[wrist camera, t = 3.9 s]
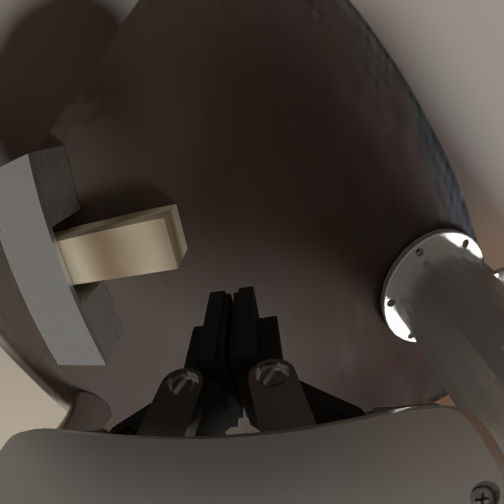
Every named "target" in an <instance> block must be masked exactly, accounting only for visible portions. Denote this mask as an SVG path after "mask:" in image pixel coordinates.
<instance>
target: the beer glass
mask: <svg viewBox="0 0 504 504" xmlns="http://www.w3.org/2000/svg"><path fill="white" fill-rule="evenodd" d="M111 416H112V412H111V409H110V407H109V406H108V405H107V403H106V402H104V401H103V400H102V399H101V398H99V397H98V396H96V395H94V394H91V393H89V392H84V391H78V392H75V393H74V394H73V396H72V399H71V403H70V407H69V410H68V412H67V415H66V416H65V418H64V419H63V421H62V422H61V423H60V425H59V426H58V427H57V428H56V429H64V430H75V431H93V430H101V429H104V427H105V426H106V424H107V423H108V421H109V420H110V418H111Z"/></svg>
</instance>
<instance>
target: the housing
mask: <svg viewBox="0 0 504 504" xmlns="http://www.w3.org/2000/svg"><path fill="white" fill-rule="evenodd" d="M80 209H81V208H80V204H79V200H78V197H77V193H76V189H75V185H74V182H73V178H72V173H71V169H70V165H69V161H68V156H67V152H66V147H65V145H64V146H59V147H54V148H50V149H45V150H41V151H37V152H32V153H28V154H26V155H24V156H22V157H20V158H18V159H15V160H13V161H11V162H9V163H7V164H5V165H3V166H1V167H0V240H1V243H2V246H3V249H4V251H5V254H6V257H7V260H8V262H9V265H10V267H11V270H12V272H13V275H14V277H15V280H16V282H17V284H18V287H19V289H20V291H21V294H22V296H23V298H24V300H25V302H26V305H27V307H28V309H29V311H30V313H31V315H32V317H33V319H34V321H35V323H36V325H37V327H38V329H39V331H40V333H41V335H42V337H43V338H44V340H45V342H46V344H47V346H48V348H49V349H50V351H51V353H52V355H53V356H54V358H55V360H56V362H57V363H58V365H106V364H107V362H108V360H109V358H110V356H111V354H112V352H113V350H114V348H115V346H116V345H117V343H118V341H119V339H120V337H121V335H122V333H123V331H124V328H123V325H122V323H121V321H120V318H119V316H118V313H117V311H116V309H115V306H114V304H113V301H112V299H111V296H110V294H109V291H108V288H107V286H106V283H105V281H104V280H102V281H96V282H89V283H82V284H76V285H73V284H72V281H71V279H70V276H69V274H68V271H67V269H66V266H65V263H64V261H63V258H62V255H61V252H60V249H59V247H58V244H57V241H56V238H55V235H54V232H53V229H52V227H53V226H54V225H56V224H57V223H59V222H60V221H62V220H64V219H65V218H67V217H68V216H70V215H72V214H73V213H75V212H77V211H78V210H80Z"/></svg>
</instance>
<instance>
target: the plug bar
mask: <svg viewBox="0 0 504 504" xmlns="http://www.w3.org/2000/svg"><path fill="white" fill-rule="evenodd" d="M54 235H55V238H56V241H57V244H58V247H59V249H60V252H61V255H62V258H63V261H64V263H65V266H66V269H67V271H68V274H69V276H70V279H71V281H72V284H73V285H76V284H82V283H89V282H96V281H102V280H109V279H115V278H122V277H128V276H135V275H141V274H148V273H154V272H161V271H167V270H174V269H178V268H179V266H180V263H181V261H182V259H183V257H184V255H185V253H186V251H187V249H188V248H187V245H186V241H185V237H184V233H183V229H182V225H181V221H180V217H179V213H178V209H177V204H173V205H168V206H163V207H159V208H154V209H149V210H145V211H140V212H135V213H131V214H127V215H122V216H118V217H113V218H109V219H105V220H101V221H97V222H93V223H89V224H84V225H80V226H77V227H73V228H69V229H65V230H61V231H57V232H54Z"/></svg>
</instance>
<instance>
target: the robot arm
mask: <svg viewBox="0 0 504 504" xmlns="http://www.w3.org/2000/svg"><path fill="white" fill-rule="evenodd" d="M502 281H504V267H503V268H499V269H497V270H495V271H494V270H493V269H492V268H490V267H489V266H488V265H487V264H485V263H484V258H483V255H482V252H481V249H480V248H479V246H478V244H477V243H476V242H475V241H474V240H473V239H472V238H471V237H470V236H468V235H466V234H465V233H463V232H461V231H458V230H455V229H439V230H434V231H432V232H429V233H426V234H424V235H422V236H421V237H419V238H418V239H416V240H414V241H413V242H412V243H411V244H410V245H409V246H407V247H406V248H405V249H404V250H403V251H402V253H401V254H400V255H399V256H398V257H397V258H396V260H395V262H394V263H393V265H392V266H391V268H390V269H389V272H388V274H387V276H386V278H385V281H384V284H383V288H382V292H381V311H382V314H383V317H384V320H385V322H386V323H387V325H388V327H389V329H390V330H391V331H392V332H393V333H394V334H395V335H396V336H398V337H399V338H401V339H403V340H406V341H411V342H417V343H418V345H419V346H420V348H421V350H422V351H423V353H424V354H425V356H426V358H427V359H428V361H429V362H430V364H431V366H432V367H433V369H434V371H435V372H436V374H437V376H438V377H439V379H440V381H441V382H442V384H443V386H444V388H445V389H446V391H447V393H448V394H449V396H450V398H451V400H452V401H453V403H454V405H455V406H447V405H440V404H437V403H433V402H426V403H418V404H408V405H397V406H385V407H373V408H372V411H363V410H362V409H360V408H359V407H357V406H355V405H353V404H351V403H348V402H346V401H344V400H341V399H339V398H337V397H335V396H332V395H330V394H328V393H326V392H323V391H321V390H319V389H317V388H315V387H313V386H310V385H308V384H306V383H304V382H302V381H300V380H299V379H298V376H297V374H296V371H295V369H294V367H293V366H292V364H290V363H289V362H288V361H285V360H283V354H282V347H281V340H280V333H279V327H278V320H277V316H273V317H266V318H259V314H258V308H257V303H256V298H255V293H254V288H253V286H252V287H245V288H239V292H237V293H234V299H233V302H232V297H231V294H226V293H225V291H218V292H211V293H210V296H209V301H208V305H207V310H206V315H205V320H204V325H203V326H197V327H194V329H193V332H192V336H191V341H190V345H189V349H188V353H187V357H186V362H185V366H184V368H181V369H178V370H175V371H173V372H171V373H169V374H168V375H167V376H166V377H165V378H164V379H163V381H162V382H161V384H160V386H159V388H158V390H157V392H156V395H155V397H154V399H153V401H152V403H150V404H149V405H147V406H146V407H144V408H142V409H141V410H139V411H138V412H136V413H135V414H133V415H132V416H130V417H128V418H127V419H125V420H124V421H122V422H120V423H119V424H117V425H116V426H115V427H113V428H112V429H111V430H110V432H108V430H107V429H101V430H93V431H75V430H64V429H34V430H28V431H24V432H21V433H18V434H16V435H14V436H12V437H11V438H10V439H9V440H8V441H7V442H6V443H5V445H4V446H3V448H2V449H1V450H0V504H504V283H503V282H502ZM243 407H244V410H245V413H246V416H247V417H248V418H249V421H250V424H251V425H252V426H254V427H255V428H257V429H258V430H259V431H260V432H257V433H246V434H233V435H226V433H225V431H226V430H228V429H229V428H230V427H238V418H243Z"/></svg>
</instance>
